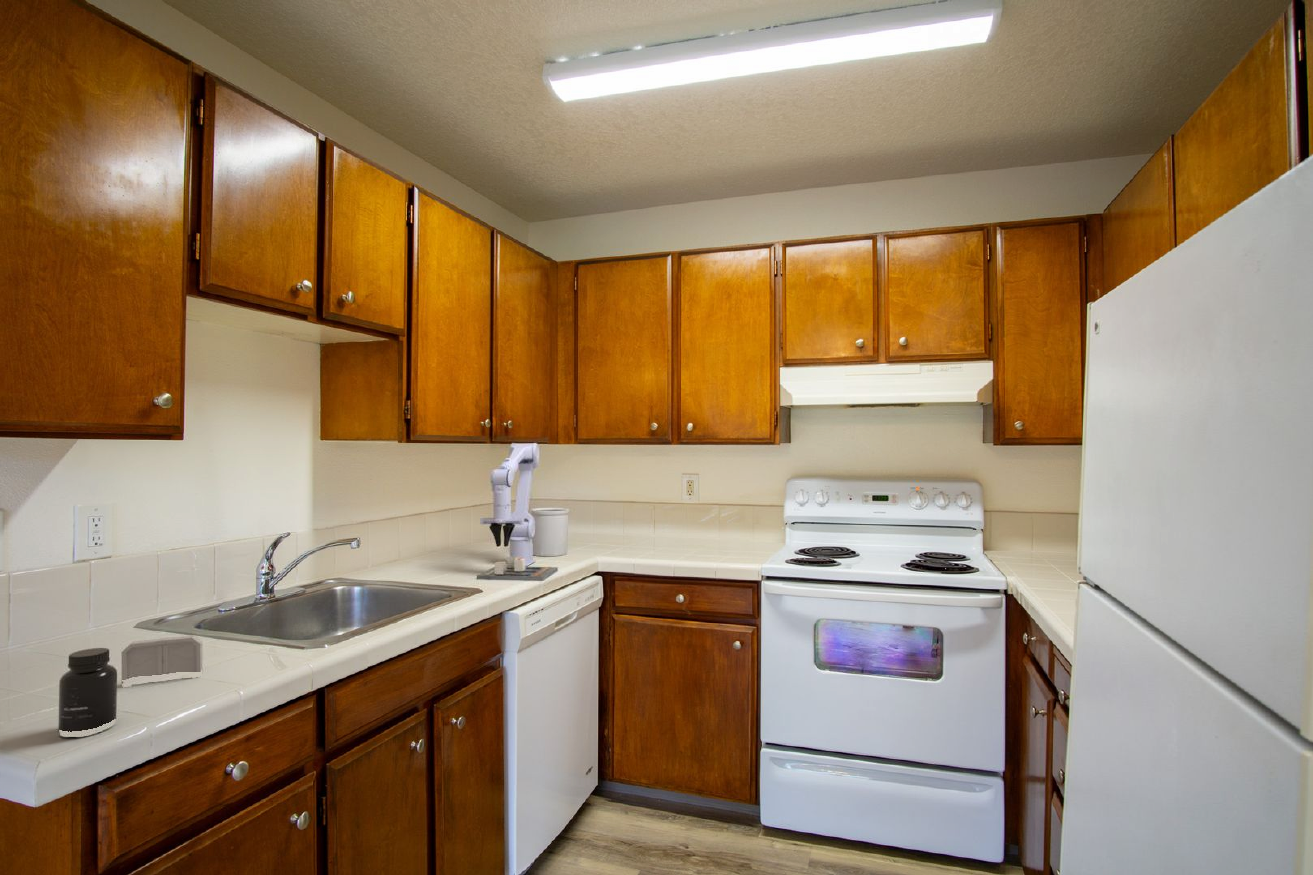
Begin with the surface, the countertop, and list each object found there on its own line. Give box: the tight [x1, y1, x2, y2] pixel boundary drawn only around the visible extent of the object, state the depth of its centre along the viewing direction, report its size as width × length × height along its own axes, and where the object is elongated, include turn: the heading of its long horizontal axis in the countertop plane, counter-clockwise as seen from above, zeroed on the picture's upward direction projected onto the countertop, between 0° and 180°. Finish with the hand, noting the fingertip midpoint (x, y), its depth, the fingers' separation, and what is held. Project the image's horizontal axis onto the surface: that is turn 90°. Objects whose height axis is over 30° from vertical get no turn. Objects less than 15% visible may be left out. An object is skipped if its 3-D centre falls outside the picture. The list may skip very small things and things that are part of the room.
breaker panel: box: [476, 555, 559, 582], centre depth 218 cm, size 16×22×5 cm
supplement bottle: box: [58, 647, 118, 732], centre depth 102 cm, size 7×7×12 cm
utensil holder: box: [530, 507, 570, 557], centre depth 259 cm, size 15×15×18 cm
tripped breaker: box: [514, 558, 526, 571], centre depth 218 cm, size 3×3×4 cm
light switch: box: [121, 634, 203, 681], centre depth 123 cm, size 2×12×8 cm, turn 114°
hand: (502, 546), depth 219 cm, fingers closed
